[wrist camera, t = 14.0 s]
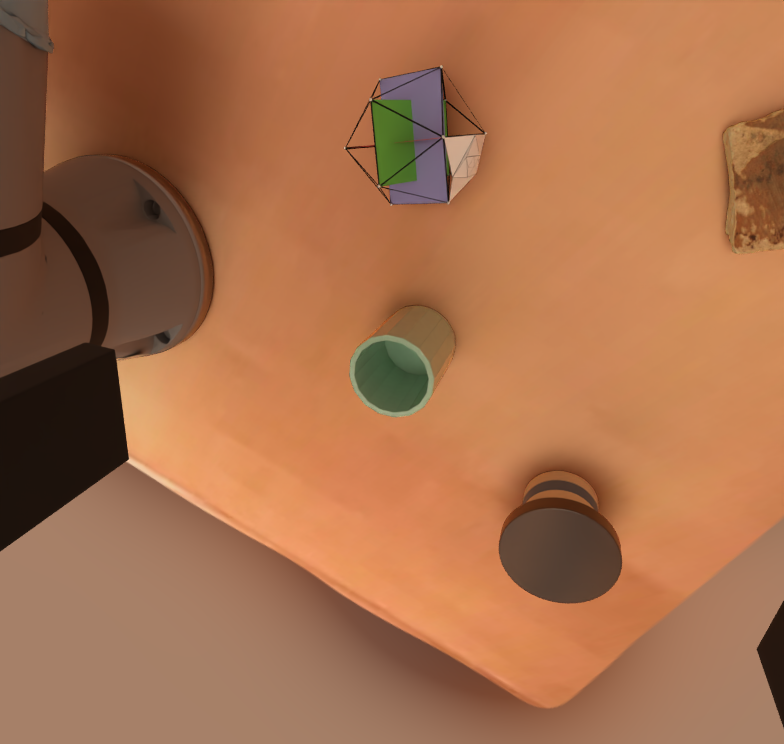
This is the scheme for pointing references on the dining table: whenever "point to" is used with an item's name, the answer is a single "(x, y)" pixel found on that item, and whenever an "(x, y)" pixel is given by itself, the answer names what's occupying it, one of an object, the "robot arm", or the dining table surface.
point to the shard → (756, 184)
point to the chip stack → (561, 488)
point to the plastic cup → (403, 361)
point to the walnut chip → (560, 550)
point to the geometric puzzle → (419, 141)
